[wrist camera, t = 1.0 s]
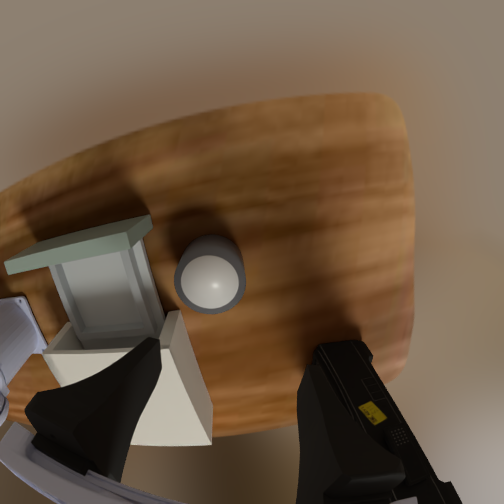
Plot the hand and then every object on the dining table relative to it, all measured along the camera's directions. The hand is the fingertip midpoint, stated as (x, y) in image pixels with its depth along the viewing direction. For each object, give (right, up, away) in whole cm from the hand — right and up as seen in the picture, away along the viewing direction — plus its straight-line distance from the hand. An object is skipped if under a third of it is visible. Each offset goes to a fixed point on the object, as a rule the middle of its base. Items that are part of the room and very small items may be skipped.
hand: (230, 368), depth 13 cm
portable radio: (+10, -7, +17) cm, 21 cm away
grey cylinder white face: (-3, +5, +12) cm, 13 cm away
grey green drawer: (-13, +1, +12) cm, 18 cm away
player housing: (-12, -8, +16) cm, 21 cm away
